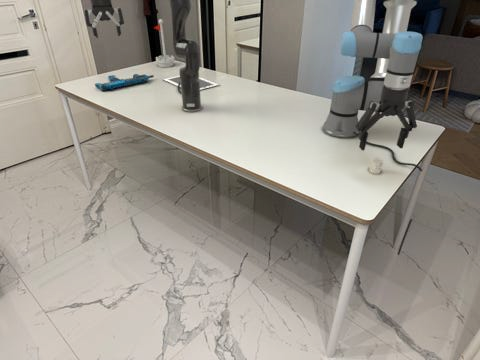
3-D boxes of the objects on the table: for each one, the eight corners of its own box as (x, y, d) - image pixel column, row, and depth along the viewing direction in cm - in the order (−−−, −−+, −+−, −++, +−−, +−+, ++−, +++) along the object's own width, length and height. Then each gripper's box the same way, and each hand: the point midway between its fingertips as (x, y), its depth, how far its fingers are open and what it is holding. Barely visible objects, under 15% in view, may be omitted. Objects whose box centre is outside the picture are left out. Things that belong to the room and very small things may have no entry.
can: (380, 169, 122) (383, 159, 120) (380, 174, 119) (382, 164, 117) (369, 167, 123) (372, 157, 121) (368, 172, 120) (371, 162, 118)
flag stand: (173, 62, 250) (168, 17, 234) (176, 66, 240) (172, 20, 223) (155, 63, 246) (149, 18, 230) (158, 68, 236) (152, 21, 219)
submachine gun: (139, 68, 225) (158, 74, 208) (140, 74, 226) (158, 80, 210) (87, 78, 206) (103, 86, 189) (89, 84, 208) (104, 92, 191)
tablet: (162, 79, 213) (162, 79, 213) (189, 73, 224) (189, 73, 224) (191, 92, 193) (191, 91, 192) (219, 85, 204) (219, 84, 203)
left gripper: (79, -7, 125) (90, 39, 133) (119, -9, 130) (127, 36, 139) (78, -9, 130) (88, 36, 139) (116, -10, 135) (124, 33, 144)
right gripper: (362, 92, 100) (349, 154, 112) (441, 88, 103) (420, 150, 114) (352, 84, 107) (341, 144, 118) (427, 81, 109) (409, 140, 121)
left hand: (108, 36), depth 139 cm, fingers open, 8 cm apart
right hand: (380, 147), depth 116 cm, fingers open, 13 cm apart
